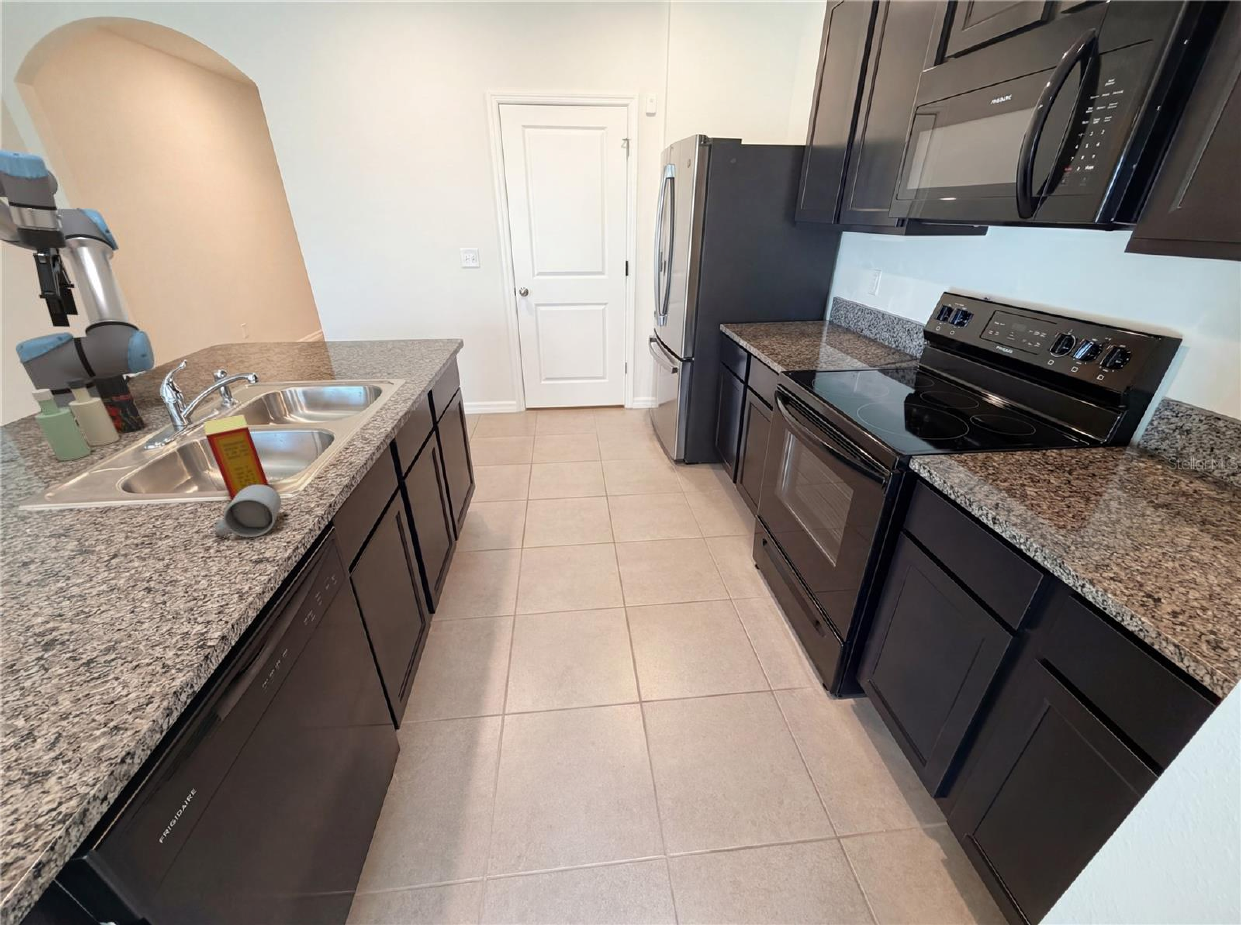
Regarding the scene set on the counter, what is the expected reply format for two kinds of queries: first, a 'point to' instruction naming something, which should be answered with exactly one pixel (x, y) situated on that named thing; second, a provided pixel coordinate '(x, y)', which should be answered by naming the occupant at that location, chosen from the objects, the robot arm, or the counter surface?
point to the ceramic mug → (250, 512)
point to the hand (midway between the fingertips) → (66, 320)
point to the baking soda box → (235, 453)
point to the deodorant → (118, 402)
